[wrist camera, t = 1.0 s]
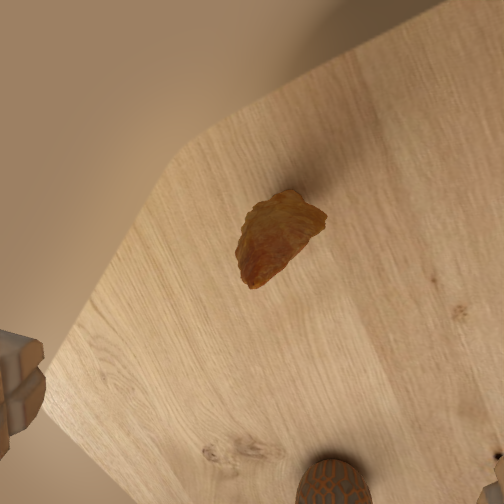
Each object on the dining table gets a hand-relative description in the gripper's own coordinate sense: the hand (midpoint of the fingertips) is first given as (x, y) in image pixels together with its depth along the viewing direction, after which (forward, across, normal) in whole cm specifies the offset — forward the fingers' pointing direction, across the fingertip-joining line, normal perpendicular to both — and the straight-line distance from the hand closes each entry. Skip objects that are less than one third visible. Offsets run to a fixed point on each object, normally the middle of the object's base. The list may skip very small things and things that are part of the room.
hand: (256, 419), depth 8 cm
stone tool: (+26, +1, +4) cm, 27 cm away
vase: (+26, -8, +31) cm, 41 cm away
